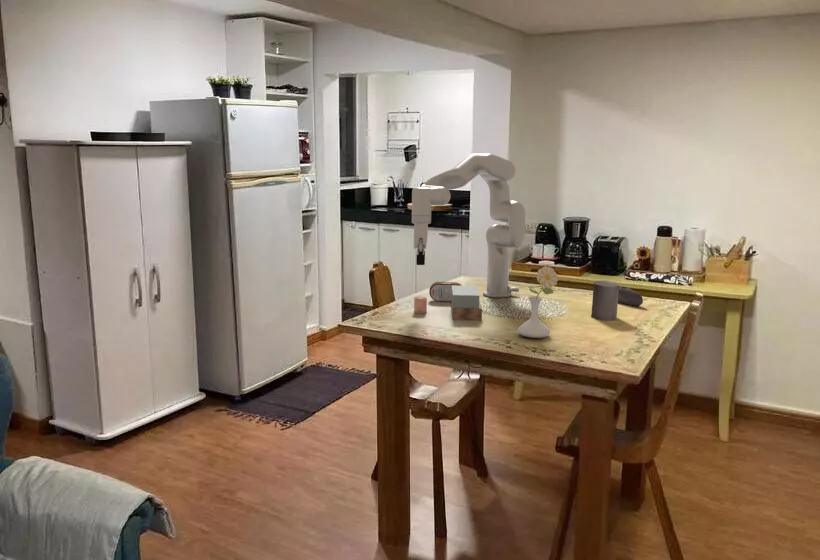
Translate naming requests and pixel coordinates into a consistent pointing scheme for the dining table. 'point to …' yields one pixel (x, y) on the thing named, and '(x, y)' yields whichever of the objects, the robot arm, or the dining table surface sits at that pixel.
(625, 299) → the perforated stone tool
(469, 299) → the tower top
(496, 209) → the robot arm
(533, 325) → the flower in vase
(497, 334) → the dining table surface
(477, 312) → the tower base
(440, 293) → the tin
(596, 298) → the pillar candle
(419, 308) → the column
